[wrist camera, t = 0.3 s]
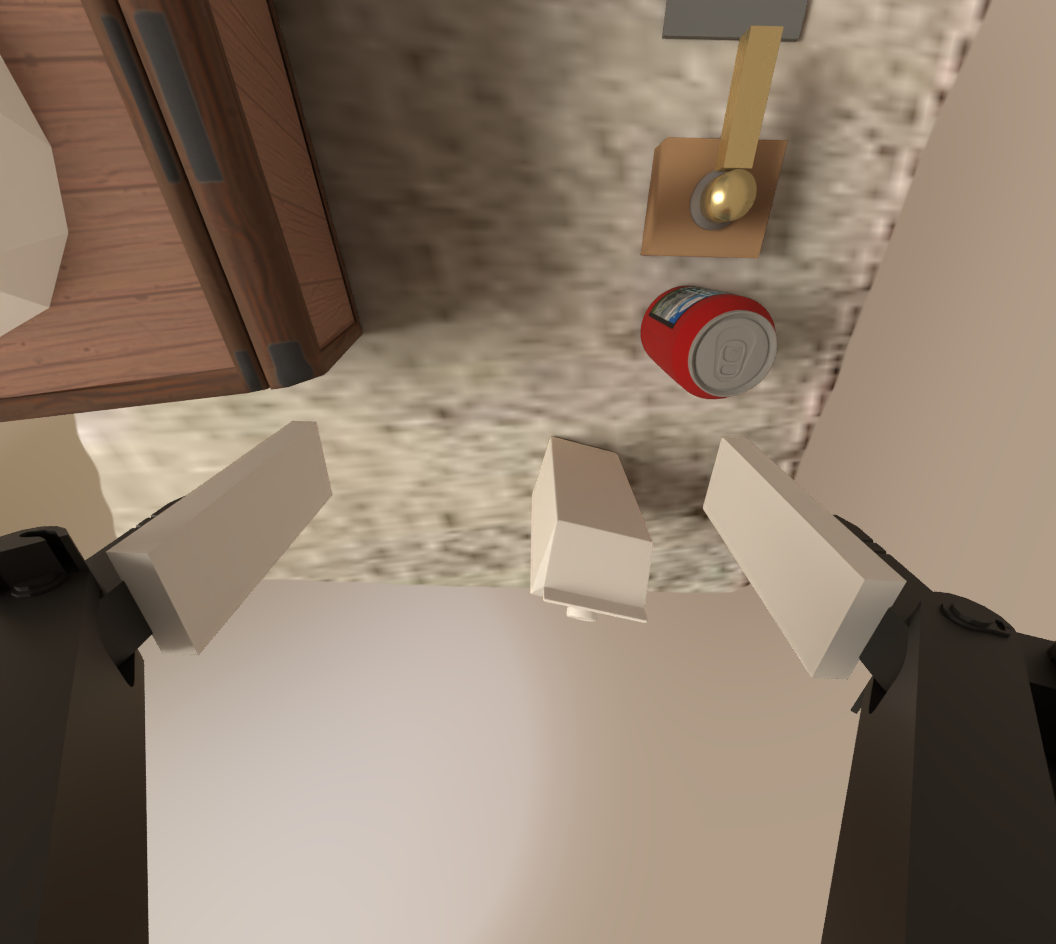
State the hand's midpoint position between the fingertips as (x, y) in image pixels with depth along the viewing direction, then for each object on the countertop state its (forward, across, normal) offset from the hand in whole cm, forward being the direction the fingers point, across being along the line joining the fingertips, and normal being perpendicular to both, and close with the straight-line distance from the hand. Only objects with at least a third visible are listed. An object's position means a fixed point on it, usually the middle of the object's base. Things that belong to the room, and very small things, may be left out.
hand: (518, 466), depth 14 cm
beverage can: (+27, +13, +1) cm, 30 cm away
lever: (+22, +13, +13) cm, 29 cm away
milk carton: (+27, +5, -14) cm, 31 cm away
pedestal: (+26, +13, +10) cm, 31 cm away
